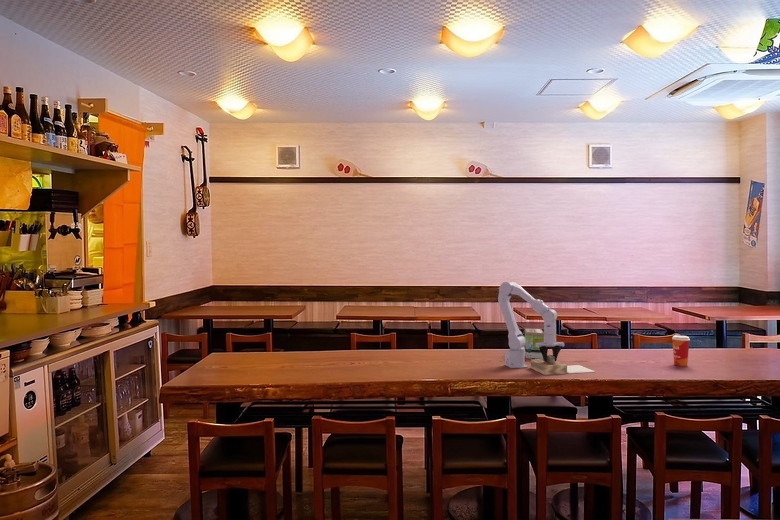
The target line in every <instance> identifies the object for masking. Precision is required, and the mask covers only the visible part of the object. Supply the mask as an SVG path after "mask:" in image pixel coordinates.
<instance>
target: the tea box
mask: <svg viewBox="0 0 780 520" xmlns="http://www.w3.org/2000/svg"><path fill="white" fill-rule="evenodd" d="M523 336H524V337H525V338H526V345H525V346H524V348H525V359H532V358H535V359H534V360H536V359H543V356H542V353H541V351H540V349H539V347H535V346H536V343H540V342H544V330H543V329H542V328H541V329H540V328H524V335H523Z"/></svg>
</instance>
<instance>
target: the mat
mask: <svg viewBox="0 0 780 520" xmlns="http://www.w3.org/2000/svg"><path fill="white" fill-rule="evenodd" d="M586 373H588V374H589V373H596V371H595V370H592V369H590V368H587V367H585V366H583V365H580V364H576V365H575V364H574V365H571V364H570V365H567V374H586Z"/></svg>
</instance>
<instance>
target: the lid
mask: <svg viewBox="0 0 780 520" xmlns="http://www.w3.org/2000/svg"><path fill="white" fill-rule="evenodd" d="M537 362H539V363H541V364H543V365H564V364H565V363H563V362H560V361H558V360H556V361H555V356H553V354H552V355H551V354H547V362H545V361H543V360H537Z"/></svg>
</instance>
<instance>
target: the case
mask: <svg viewBox="0 0 780 520" xmlns="http://www.w3.org/2000/svg"><path fill="white" fill-rule="evenodd" d="M537 360H543V359H530V369H532V370H534V371H536V372H537V373H540V374H542V375H544V376H547V375H565V374H566V375H567V374H568V373H567V366H568V365H567V364H565V363H563V364H564V365H543V364H541V363H539V362H537Z"/></svg>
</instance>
